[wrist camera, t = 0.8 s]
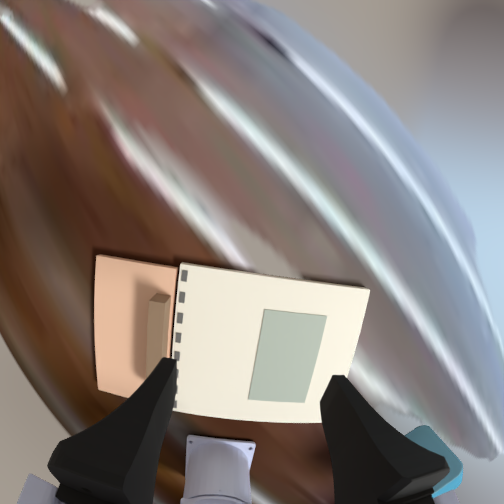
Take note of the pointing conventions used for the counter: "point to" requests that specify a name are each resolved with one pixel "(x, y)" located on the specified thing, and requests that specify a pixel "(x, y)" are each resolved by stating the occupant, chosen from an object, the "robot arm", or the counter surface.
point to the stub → (131, 321)
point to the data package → (435, 444)
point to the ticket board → (261, 343)
